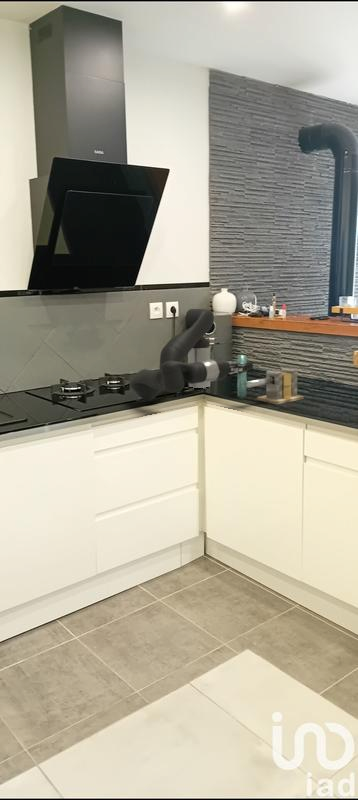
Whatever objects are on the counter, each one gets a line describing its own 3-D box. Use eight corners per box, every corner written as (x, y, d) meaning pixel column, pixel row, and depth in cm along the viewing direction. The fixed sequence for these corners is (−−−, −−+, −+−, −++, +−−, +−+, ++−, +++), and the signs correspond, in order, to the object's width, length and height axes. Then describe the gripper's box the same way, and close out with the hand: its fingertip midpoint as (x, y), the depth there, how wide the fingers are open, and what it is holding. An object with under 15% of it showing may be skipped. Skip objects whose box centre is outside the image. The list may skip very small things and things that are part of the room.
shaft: (241, 397, 224) (241, 356, 221) (235, 396, 227) (235, 355, 223) (276, 390, 234) (277, 351, 231) (270, 389, 236) (271, 350, 233)
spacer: (283, 398, 234) (283, 374, 232) (270, 395, 240) (270, 372, 238) (291, 397, 236) (291, 373, 234) (278, 394, 242) (278, 371, 240)
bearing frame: (277, 404, 230) (277, 375, 227) (257, 399, 238) (257, 371, 236) (303, 398, 237) (304, 370, 235) (283, 394, 246) (283, 367, 244)
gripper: (199, 378, 222) (236, 372, 232) (224, 383, 211) (261, 377, 221) (198, 357, 221) (236, 352, 230) (224, 362, 209) (261, 356, 219)
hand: (248, 364), depth 226 cm, fingers closed on shaft, 3 cm apart
